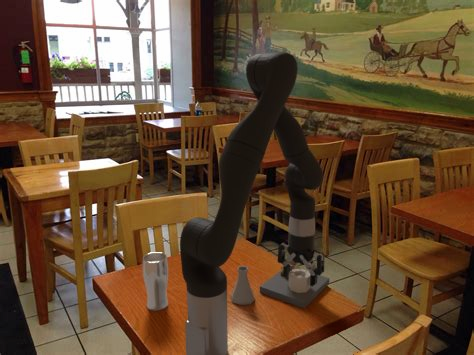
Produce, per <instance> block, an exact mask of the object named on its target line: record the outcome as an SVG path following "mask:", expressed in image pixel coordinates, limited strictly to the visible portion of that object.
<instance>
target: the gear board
mask: <svg viewBox="0 0 474 355" xmlns="http://www.w3.org/2000/svg"><path fill="white" fill-rule="evenodd" d="M308 272H309V273H310V271H308ZM310 275H311V273H310ZM298 277H303V276H301V275H298ZM288 284H289V278H288V279H285V278H284V276H282V275H280V270H279V271H278V272H277V273H275V274H274V275H273V276H271V277H270V278H269V279H267V281H265V282H264V283H262V284H261V285H260V286H259V293H261V294H264V295H267V296H269V297H271V298H274V299H277V300H280V301H283V302H285V303H288V304H289V305H290V304H291V305H293V306H295V307H299V308H301V309H306V308H307V306H308V305H310V304H311V302H312V301H313V300H315V299H316V298H317V296H319V295H320V293H322V291H324V290H325V289H326V288H327V287H328V286H329V285H330V277H327V276H324V275H322V274H321V275H317V283H316V284H315V285H314V286H313V287H312V286H310V289H309V290H308V291H307V292H303V293H297V292H294V291H291V290H290V288H289V286H288ZM318 294H319V295H318Z"/></svg>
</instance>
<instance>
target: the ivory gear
mask: <svg viewBox="0 0 474 355" xmlns="http://www.w3.org/2000/svg"><path fill="white" fill-rule="evenodd" d="M303 269H304V268H303ZM303 269H293V270H291V271H290V272H289V284H288V286H289V288H290V290H291V291H294V292H297V293H303V292H307V291H308V290H309V289H310V273H309V272H310V271H309V270H306V269H304V270H303ZM298 275H301V276H303V277H298Z"/></svg>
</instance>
